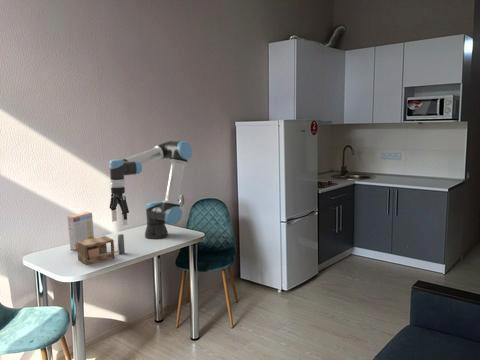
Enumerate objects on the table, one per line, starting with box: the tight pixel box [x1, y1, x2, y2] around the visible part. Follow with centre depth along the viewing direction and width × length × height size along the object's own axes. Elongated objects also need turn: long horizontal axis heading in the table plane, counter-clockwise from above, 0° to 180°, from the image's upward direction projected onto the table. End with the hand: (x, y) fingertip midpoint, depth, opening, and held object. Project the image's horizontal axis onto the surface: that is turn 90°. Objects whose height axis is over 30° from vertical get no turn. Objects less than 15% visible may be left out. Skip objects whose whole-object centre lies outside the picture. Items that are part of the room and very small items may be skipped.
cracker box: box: [67, 211, 95, 252], centre depth 258 cm, size 14×6×21 cm, turn 149°
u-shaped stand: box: [87, 233, 125, 259], centre depth 239 cm, size 22×6×11 cm, turn 131°
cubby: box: [77, 235, 115, 266], centre depth 235 cm, size 16×11×11 cm
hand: (119, 223), depth 243 cm, fingers open, 13 cm apart
